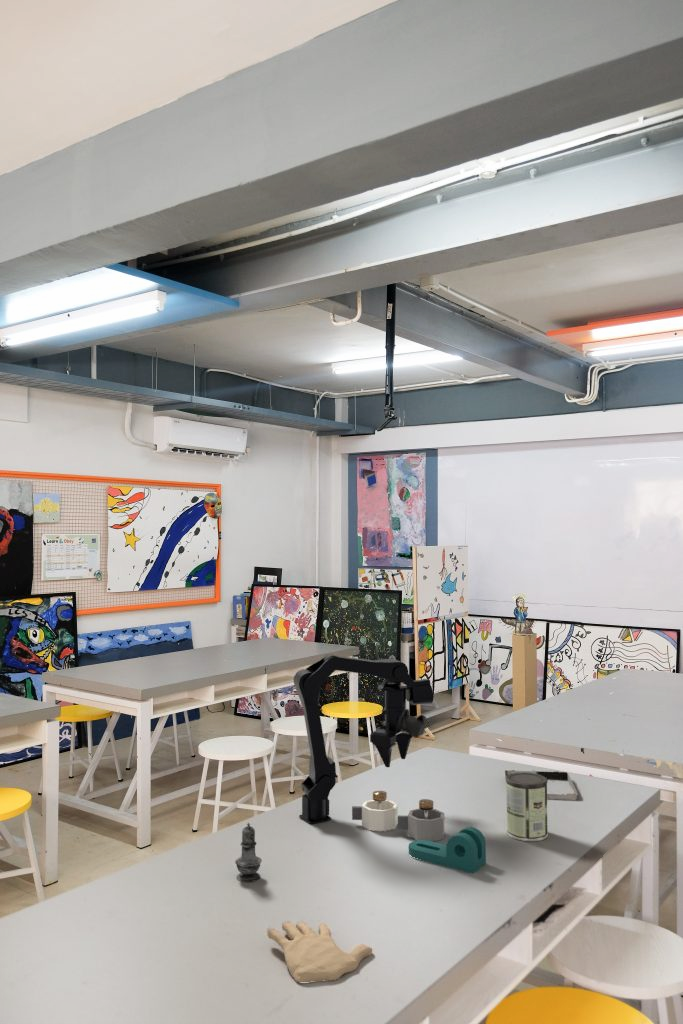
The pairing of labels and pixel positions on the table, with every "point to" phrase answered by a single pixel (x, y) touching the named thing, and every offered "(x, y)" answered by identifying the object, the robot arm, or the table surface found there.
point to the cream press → (377, 815)
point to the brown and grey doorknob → (379, 797)
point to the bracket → (454, 851)
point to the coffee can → (527, 806)
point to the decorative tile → (551, 776)
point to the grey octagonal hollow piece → (423, 824)
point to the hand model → (315, 952)
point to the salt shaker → (248, 857)
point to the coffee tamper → (426, 806)
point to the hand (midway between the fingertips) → (395, 763)
